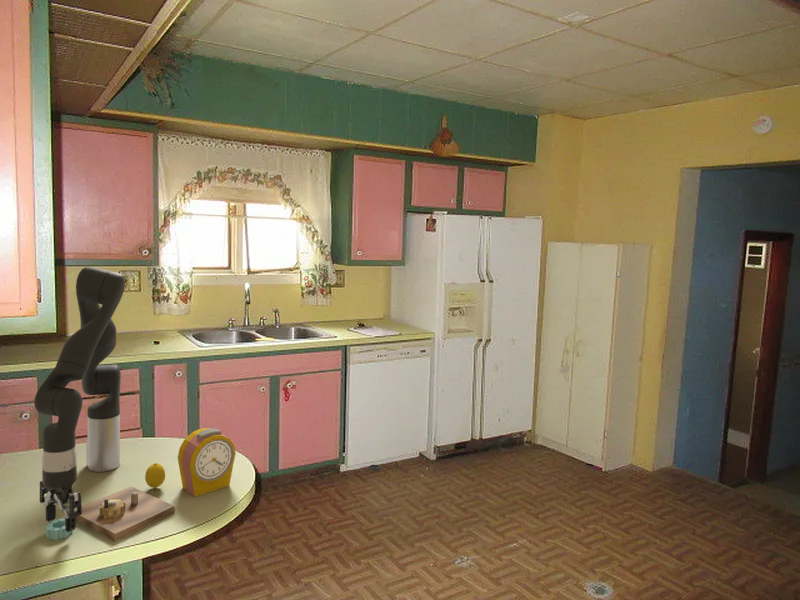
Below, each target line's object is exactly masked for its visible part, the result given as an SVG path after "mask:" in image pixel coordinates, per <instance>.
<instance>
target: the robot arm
mask: <svg viewBox="0 0 800 600" xmlns="http://www.w3.org/2000/svg"><path fill="white" fill-rule="evenodd" d="M75 283H76V284H75V295H76V300H77V305H78V309H79V310H78V311H79V317H80V328H79V329H78V330H77V331H76V332H74V333H73V334H72V335H70V337H69V338H68V339H67V340H66V341H65V343H64V345H63V347H62V349H61V351H60V354H59V357H58V359H57V361H56V364H55V367H54V368H53V369H52V371H51V372H50V373H49V375H47V377H46V378H45V380H44V381H43V383H42V384H41V385H40V386H39V388H38V389H37V391H36V394H35V396H34V401H33V402H34V408H35V410H36V412H38V413H40V414H41V415H46V416H47V415H48V416H53V417H58V418H57V419H58V421H57V422H53V423H49V424H48V425H46V426H45V427H44V428H43V430H42V456H41V469H42V471H41V472H42V473H41V475H42V478H41V479H42V480H41V481H39V502H40V504H43V507H44V508H45V521H46V522H49V523H50V522H51V521H53V520H56V517H57V513H56V512H57V510H56V509H57V508H56V507H57V506H58V507H59V509H60V511H61V512H63V514H64V518H65V530H66V531H67V532H70V531H72V530H73V531H74V530H76V527H77V525H76V524H77V521H76V516H79V515H81V514H82V506H83V505H82V493H81V491H77V492H74V490H73V485H74V483H76V481H77V480H78V479H77V478H78V476H77V475H78V473H77V472H78V466H77V463H78V461H77V460H78V459H77V449H76V429H77V425H78V421H79V418H80V415H81V411H82V408H83V397H82V395H81V393H80V391H78V390H77V389H75V388H70V387H67V386H68V385H69V383H71V382H77V381H81V387H82V388H81V389H82V390H83V393H84V394H85V395H87V396H101V395H102V396H103V395H104V396H105V395H107V396H106V397H105V398H103V399H101V400H99V401H97V402H94V403H91V404H90V405H89V406H88V408H87V412H86V413H87V414H86V415H87V437H86V466H87V469H88V470H89V471H91V472H99V473H101V472H108V471H112V470H114V469H118V467H120V465H121V464H120V463H121V415H120V414H121V405H120V403H121V402H120V400H121V399H120V396H121V394H120V393H121V382H122V381H121V379H122V377H121V375H122V373H121V368H120V367H119V365H117V364H101V365H100V363H103V361H105V359H107V357H109V356H110V355H111V354H112V352H113V351H114V350H115V348H116V345H117V328H116V327H117V326H116V325H115V323H114V321H113V320H112V318H113V316H114V313H115V311H117V310H116V309H117V308H118V306H119V304H120V302H121V300H122V298H123V295H124V291H125V287H126V279H125V276H124V275H123V274H121V273H119V272H115V271H110V270H107V269H103V268H99V267H96V266H94V267H92V266H86V267H83V268H82V269H81V270H80V271H79V272H78V275H77V278H76V282H75ZM45 495H46V496H45ZM68 509H69V510H68ZM76 509H77V510H76Z"/></svg>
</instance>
